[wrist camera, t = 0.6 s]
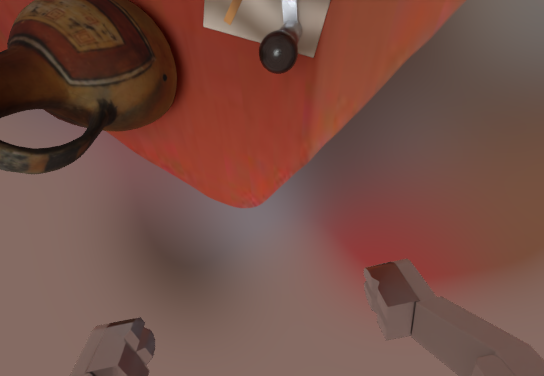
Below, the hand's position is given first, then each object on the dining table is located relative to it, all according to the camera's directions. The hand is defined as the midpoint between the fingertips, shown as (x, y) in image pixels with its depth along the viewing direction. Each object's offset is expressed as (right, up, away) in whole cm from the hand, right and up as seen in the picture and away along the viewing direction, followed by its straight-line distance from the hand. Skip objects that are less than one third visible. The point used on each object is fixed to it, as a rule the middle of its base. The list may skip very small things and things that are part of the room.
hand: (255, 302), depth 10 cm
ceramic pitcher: (-24, +27, +38) cm, 53 cm away
